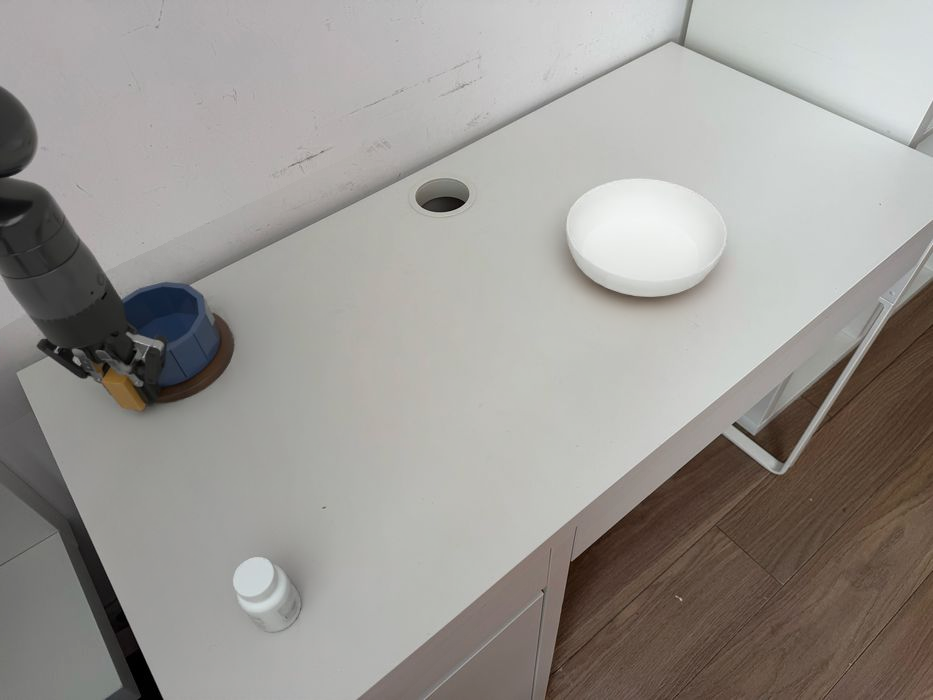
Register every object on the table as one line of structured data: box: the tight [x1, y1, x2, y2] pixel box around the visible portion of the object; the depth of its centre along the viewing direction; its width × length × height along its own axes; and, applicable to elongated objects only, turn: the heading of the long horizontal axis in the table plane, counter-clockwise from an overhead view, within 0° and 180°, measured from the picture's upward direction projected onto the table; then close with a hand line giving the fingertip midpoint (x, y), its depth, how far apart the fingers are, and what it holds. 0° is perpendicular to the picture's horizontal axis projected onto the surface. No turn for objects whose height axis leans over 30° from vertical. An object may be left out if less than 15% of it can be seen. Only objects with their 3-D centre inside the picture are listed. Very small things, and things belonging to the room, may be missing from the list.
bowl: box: [565, 177, 728, 298], centre depth 87 cm, size 20×20×6 cm
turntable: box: [154, 311, 235, 404], centre depth 83 cm, size 14×14×1 cm
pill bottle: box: [232, 556, 302, 633], centre depth 60 cm, size 4×4×8 cm
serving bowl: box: [101, 281, 220, 412], centre depth 79 cm, size 15×12×5 cm
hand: (139, 396), depth 77 cm, fingers closed on serving bowl, 2 cm apart
